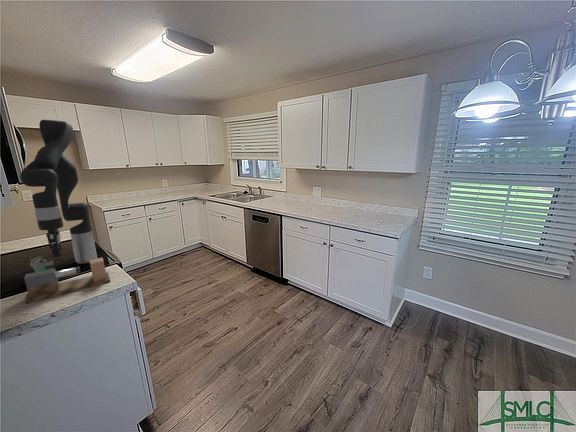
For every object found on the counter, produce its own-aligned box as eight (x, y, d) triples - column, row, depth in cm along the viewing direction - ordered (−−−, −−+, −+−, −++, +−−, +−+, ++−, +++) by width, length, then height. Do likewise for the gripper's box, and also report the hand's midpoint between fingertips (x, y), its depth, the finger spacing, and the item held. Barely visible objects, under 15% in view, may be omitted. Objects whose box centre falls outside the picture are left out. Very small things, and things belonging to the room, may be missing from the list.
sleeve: (26, 287, 99) (24, 278, 98) (28, 283, 103) (25, 274, 102) (56, 280, 105) (54, 271, 104) (57, 276, 109) (55, 268, 108)
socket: (93, 281, 113) (90, 263, 111) (93, 277, 117) (89, 260, 115) (106, 278, 117) (103, 261, 114) (105, 274, 121) (102, 257, 118)
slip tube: (26, 286, 100) (25, 279, 99) (27, 283, 102) (26, 276, 101) (80, 273, 111) (79, 267, 110) (80, 271, 113) (79, 265, 112)
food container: (29, 279, 118) (24, 259, 115) (46, 273, 123) (41, 255, 121) (40, 285, 112) (35, 265, 110) (57, 279, 118) (53, 260, 115)
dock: (25, 303, 98) (22, 291, 97) (29, 293, 106) (25, 281, 104) (110, 281, 116) (108, 270, 114) (108, 274, 123) (106, 263, 122)
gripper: (60, 219, 99) (68, 256, 102) (62, 213, 109) (69, 247, 113) (34, 222, 94) (44, 261, 98) (38, 215, 104) (47, 251, 108)
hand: (57, 253), depth 105 cm, fingers open, 8 cm apart
